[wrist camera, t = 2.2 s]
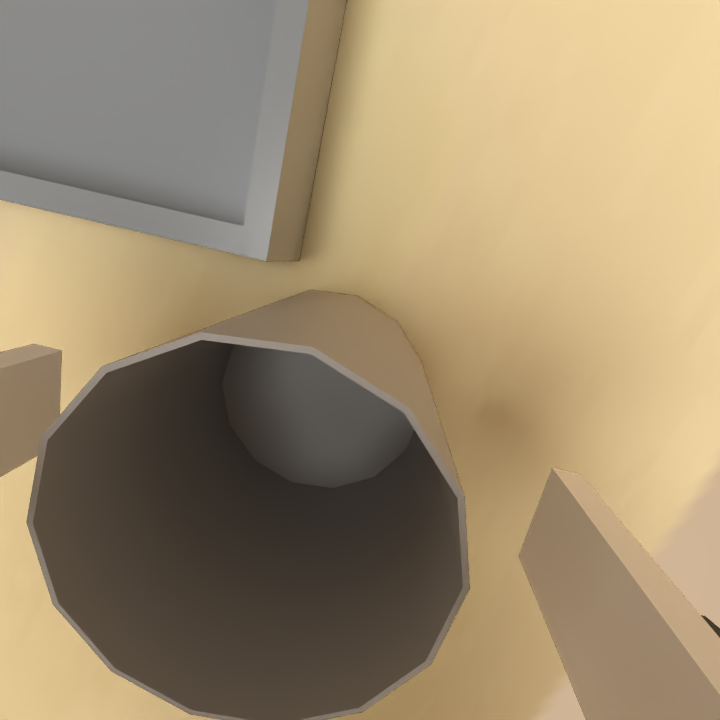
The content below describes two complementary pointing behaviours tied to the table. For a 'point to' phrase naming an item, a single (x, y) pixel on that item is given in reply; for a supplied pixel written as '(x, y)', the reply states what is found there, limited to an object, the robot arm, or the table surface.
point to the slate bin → (169, 115)
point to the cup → (258, 514)
